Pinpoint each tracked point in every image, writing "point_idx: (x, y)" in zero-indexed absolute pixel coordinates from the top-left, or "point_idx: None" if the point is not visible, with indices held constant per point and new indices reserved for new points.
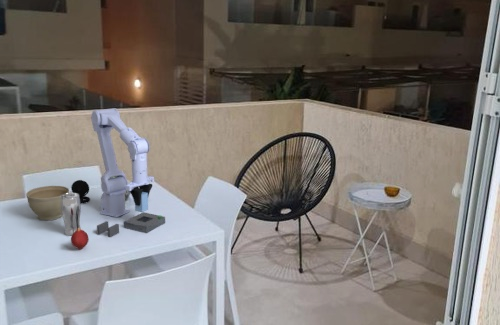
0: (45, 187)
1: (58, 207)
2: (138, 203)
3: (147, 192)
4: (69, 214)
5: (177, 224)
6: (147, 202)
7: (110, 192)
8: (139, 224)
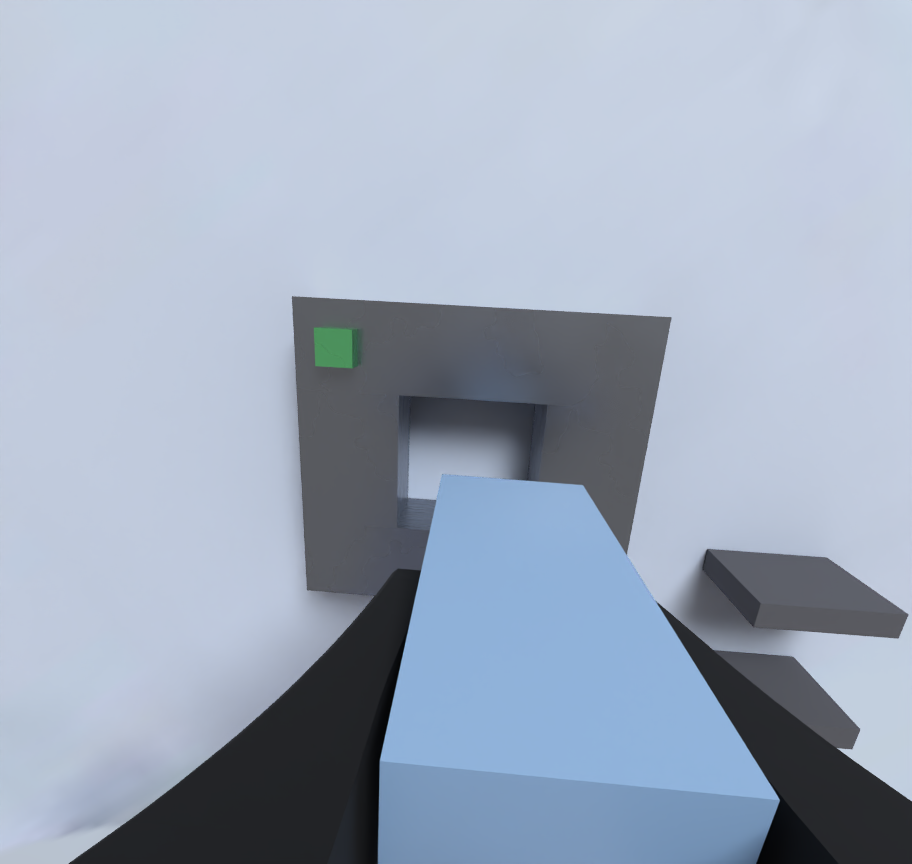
0: None
1: None
2: None
3: (354, 779)
4: None
5: (286, 142)
6: (442, 538)
7: None
8: (628, 432)
